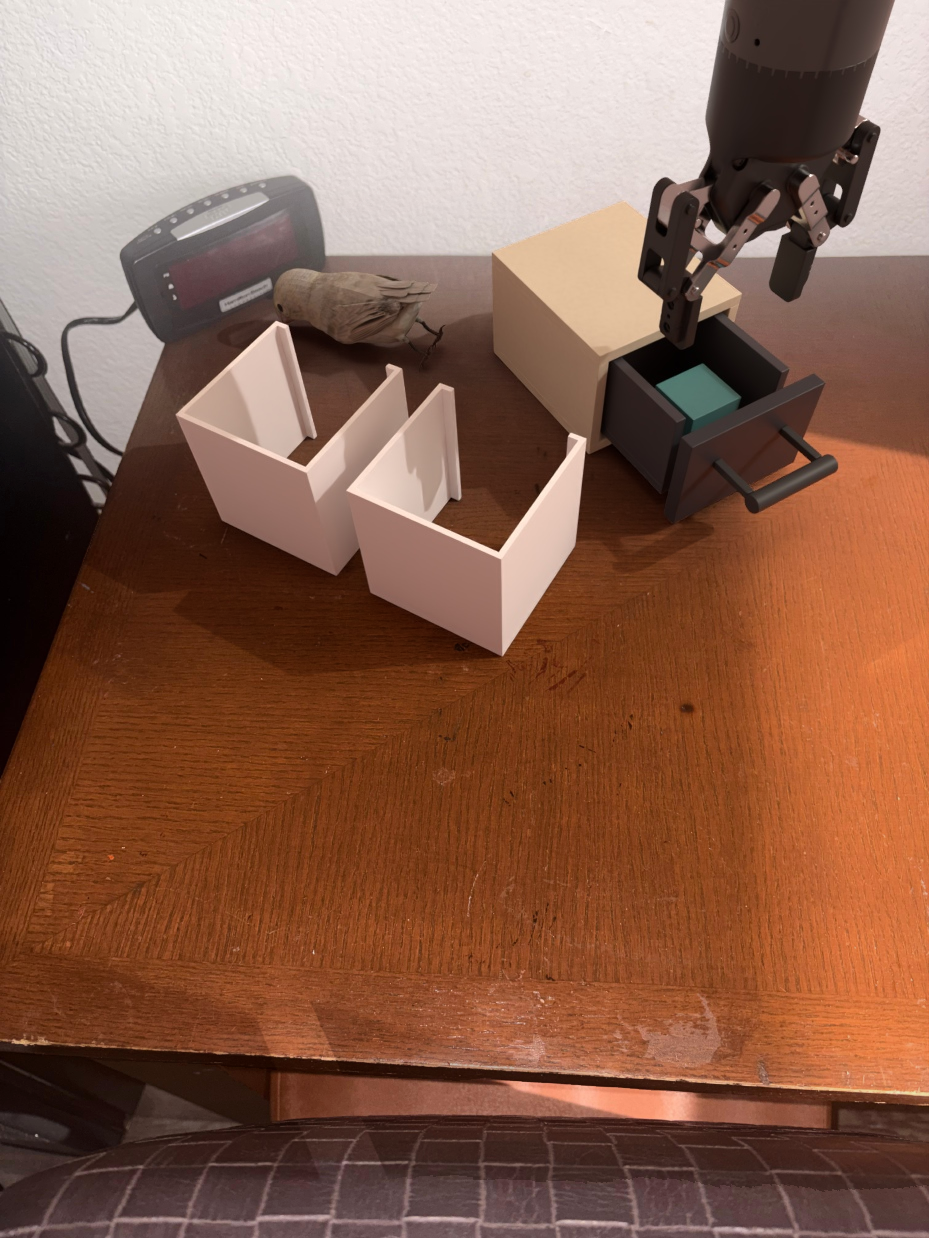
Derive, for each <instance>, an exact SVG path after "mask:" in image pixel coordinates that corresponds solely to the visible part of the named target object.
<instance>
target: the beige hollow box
mask: <svg viewBox="0 0 929 1238" xmlns="http://www.w3.org/2000/svg"><path fill="white" fill-rule="evenodd" d="M647 219H648V217H646V216H645V215H643V214H642V213H641V212H639V211H638V210H637V209H636V208H634V207H633V206H632V205H630V204H629V203H628V202H627V201H625V200H621V201H618V202H616V203H613V204H611V205H608V206H606V207H603V208H601V209H597V210H595V211H594V212H590V213H588V214H585V215H582V216H580V217H578V218H575V219H572V220H570V221H567V222H566V223H563V224H560V225H557V226H554V227H552V228H550V229H547V230H544V231H542V232H539V233H536V234H534V235H532V236H529V237H527V238H524V239H521V240H519V241H516V242H514V243H511V244H509V245H505V246H504V247H501V248H498V249H496V250H493V251H492V252H491V280H492V283H491V285H492V286H491V287H492V332H493V333H492V335H493V337H492V338H493V339H492V340H493V353H494V354H495V355H496V356H497V357H498V358H499V360H501V361H502V362H503V364H504V365H505V366H506V367H507V368H508V369H509V370H510V372H512V373H513V375H514V376H515V377H516V378H517V379H518V380H519V381H520V382H521V383H522V384H523V386H525V388H526V389H527V390H528V391H529V392H530V393H531V394H532V395H533V396H534V397H535V398H536V400H537V401H539V403H540V404H541V405H542V406H543V407H544V408H545V409H546V410H547V411H548V412H549V413H550V414H551V415H552V416H553V418H554V419H555V420H556V421H557V422H558V423H559V424H560V425H561V426H562V427H563V429H565V430H566V432H567V433H568V435H569V434H570V433H573V434H576V435H578V436H581V437H584V438H586V449H585V453H587V454H588V455H591V454H593V453H595V452H597V451H599V450H602V449H604V448H606V447H608V446H610V445H613V444H612V443H611V442H610V441H609V440H608V439H607V438H606V437H605V436H604V435H603V434H602V433H601V432H600V429H601V421H602V412H603V404H604V396H605V388H606V380H607V372H608V363H609V361H611V360H614V359H616V358H618V357H620V356H623V355H625V354H627V353H629V352H632V351H634V350H636V349H638V348H641V347H643V346H645V345H647V344H650V343H652V342H654V341H656V340H659V339H661V338H663V337H665V336H664V335H663V334H662V333H661V332H660V329H659V322H660V319H661V318H660V316H661V313H662V312H661V310H662V304H663V300H662V299H661V298H660V297H659V296H658V295H656V294H655V293H654V292H653V291H652V290H650V289H649V288H648V287H647V286H646V285H644V284H643V283H642V282H641V281H640V280H639V279H638V276H637V275H638V269H639V264H640V258H641V253H642V247H643V242H644V236H645V230H646V225H647ZM700 262H701V260H700V258H698V257H696V256H694V257H693V259H692V260H691V262H690V263H689V265H688V266H687V268H686V270H688V271H689V272H690V273H691V274H692V273H693V272H694V270H695V269H696V267H697V266H698V265H699V263H700ZM661 265H664V261H663V259H662V261H661ZM701 295H702V296H703V299H702V304H701V309H700V314H699V319H698V322H699V321H701V320H704V319H706V318H708V317H710V316H713V315H715V314H717V313H719V312H722V313H723V314H724V315H725V316H727V317H728V318H729V319H730V320H731V321H733V322H734V323H735V320H736V318H737V317H736V316H737V313H738V310H739V305H740V304H741V303H740V302H741V299H742V296H743V293H742V292H741V291H740V290H738V289H737V288H736V287H734V286H733V285H732V284H730V283H729V282H728V281H727V280H725V279H724V278H723V277H721V276H720V275H719V274H718V273H717V272H716V273H715V275H714V276H713V278H712V279H711V280H710V282H709V283H708V285H707V286H706V288H705V289H704V291H703V292H702V293H701Z"/></svg>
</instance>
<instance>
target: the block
mask: <svg viewBox="0 0 929 1238" xmlns="http://www.w3.org/2000/svg"><path fill="white" fill-rule="evenodd" d="M655 389H656V390H657V391H658V392H659V393H660V394H661V395H662V396H663V397H664V398H665V399H666V400H667V401H668V402H669V403H670V404H671V405H672V406H674V407H675V408H676V409H677V410H678V411H679V412H680V413H681V414H682V415H683V416H684V417H685V418H686V419H685V424H684V428H683V432H682V437H683V436H685V435H687V434H689V433H691V432H693V431H695V430H697V429H699V428H701V427H703V426H706V425H708V424H710V423H712V422H714V421H716V420H718V419H720V418H722V417H724V416H726V415H728V414H730V413H732V412H735V411H737V410H738V406H739V403H740V400H741V396H739V395H738V394H737V393H736V392H735V391H734V390H733V389H732V388H730V387H729V386H728V385H727V384H726V383H725V382H724V381H722V380H721V379H720V378H719V377H718V376H717V375H716V374H714V373H713V372H712V371H711V370H710V369H709V368H708V367H706V366H705V365H704V364H703V363H702V364H700V365H698V366H696V367H694V368H692V369H689V370H687V371H685V372H683V373H681V374H679V375H676V376H674V377H672V378H670V379H668V380H666V381H663V382H661V383H659V384H657V385H656V387H655Z"/></svg>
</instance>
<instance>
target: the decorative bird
mask: <svg viewBox="0 0 929 1238" xmlns="http://www.w3.org/2000/svg"><path fill="white" fill-rule="evenodd" d="M438 285H439V283H430V282H429V281H419V282H418V281H417V280H402V279H399V278H396V277H395V276H392V275H388V274H382V273H381V274H380V273H379V274H378V273H376V274H375V273H373V274H372V273H367V272H360V271H341V272H322V271H321V272H320V271H316V270H313V269H308V268H300V267H297V268H292V269H289V270H286V271H284V272H283V273H281V274H280V276H279V277H278V279H277V280H276V282H275V284H274V287H273V293H272V304H273V308H274V311H275V313H276V316H277V318H278V320H280V321H281V323H283V324H286V325H288V324H289V323H293V322H295V321H304V322H309V323H310V324H311V325H312V326H311V327H314V328H316V329H318V330H320V331H322V332H323V333H325V334H326V335H328V336H330V337H331V338H332V339H334V340H335V341H337V342H339V343H341V344H343V345H353V344H356V343H366V344H379V343H387V344H395V343H398V342H402V343H404V344H407V345H409V347H410V348H411V349H412V350H413V351H414V352H416V353H418V354H419V355H421V356H423V358H422V359H421V361H420V362H419V367H418V372H419V373H421V367H422V368H423V369H424V364H425V363H426V362H427V361H428V360H429V358H430V356H431V353H433V352H434V347H435V349H437V343H438V342H440V340H442V337H443V334H444V331H443V329H444V327H446V324H443V325H442V326H441V327H440V328H439V330H438V332H437V331H436V330H434V329H432V328H430V327H429V326H428V325H427V324H426V322H425V320H424V319H423V318H422V317H421V316H420V315H419V313H420V310H421V308H422V305H423V303H425V302H428V300H429V299H430V297H431V294H432V293H434V292H435V290H436V289H437V288H438ZM415 323H417V324H418V323H419V324H420V325H422V327H423V329H425V330H426V331H427V332H429V333H430V334H432V335H433V336H436V338H435V339H434V340H433V342H432V344H431V345H429V346H428V347H427V348H426V352H424V351H422V350H421V349H420V348H418V347H416V346H415V345H414V343H413V342H412V340H410V338H409V337H408V336H407V334H409V332H410V331H411V329H412V328H413V326H414V324H415Z"/></svg>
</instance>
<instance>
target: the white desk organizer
mask: <svg viewBox="0 0 929 1238" xmlns="http://www.w3.org/2000/svg"><path fill="white" fill-rule="evenodd" d="M385 372H386V379H385V380H384V381H383V382H382V383H381V384H380V385H379V386H378V387H377V389H375V391H374V392H373V393H372V394H371V395H370V396H369V397H368V398H367V399H366V400H365V401H364V403H362V405H361V406H360V407H359V408H358V409H357V410H356V411H355V412H354V413H353V415H352V416H350V418H349V419H348V420H347V421H346V422H345V423H344V424H343V425H342V427H340V428H339V430H338V431H337V432H336V433H335V434H334V435H333V436H332V437H331V438H330V440H329V441H327V443H326V444H325V445H324V446H323V447H322V448H321V449H320V450H319V451H318V452H317V454H315V456H314V457H313V458H312V459H311V460H310V461H309V462H308V464H306V465H302V464H300V463H299V462H295V461H293V460H291V459H289V458H288V457H289V456H290V455H291V454H292V453H293V452H294V451H295V450H296V449H297V447H299V446H300V445H301V443H302V442H303V441H305V439H306V438H307V437H309V438H311V439H313V440H315V439H316V438H317V437H318V433H317V430H316V427H315V423H314V419H313V415H312V411H311V407H310V403H309V400H308V396H307V391H306V388H305V383H304V381H303V376H302V373H301V368H300V365H299V361H298V358H297V353H296V349H295V346H294V342H293V338H292V335H291V331H290V327H289V324H284V323H283V322H280V321H278V320H275V321H274V322H273V323H272V324H271V325H270V326H269V327H268V328H267V329H266V330H264V331H263V332H262V333H261V334H260V335H259V336H258V337H257V338H256V339H255V340H254V341H253V342H251V343H250V344H249V346H247V347H246V348H245V349H244V350H243V351H242V352H241V353H240V354H239V355H238V356H237V357H236V358H235V359H233V360H232V361H231V362H230V363H229V364H228V365H227V366H226V367H225V368H224V369H222V370H221V372H220V373H218V374H217V375H216V376H215V377H214V378H213V379H212V380H211V381H210V382H208V383H207V384H206V386H204V387H203V388H202V389H201V390H200V391H199V392H198V393H197V394H196V395H194V397H192V399H190V400H189V401H188V402H187V403H186V404H185V405H184V406H183V407H182V408H181V409H180V410H179V411H178V412H176V413H175V417H176V420H177V422H178V424H179V426H180V429H181V431H182V433H183V436H184V437H185V440H186V442H187V444H188V447H189V449H190V451H191V453H192V456H193V459H194V460H195V462H196V465H197V468H198V469H199V472H200V474H201V476H202V478H203V481H204V483H205V485H206V488H207V490H208V492H209V495H210V497H211V499H212V501H213V504H214V505H215V508H216V510H217V512H218V515H219V518H220V519H221V521H222V522H223V523H226V524H228V525H230V526H232V527H234V528H237V529H239V530H240V531H242V532H245V533H247V534H249V535H250V536H253V537H255V538H257V539H259V540H261V541H263V542H265V543H267V544H270V545H271V546H273V547H276V548H278V549H279V550H281V551H283V552H285V553H288V554H290V555H292V556H294V557H296V558H298V559H300V560H302V561H304V562H307V563H309V564H311V565H312V566H314V567H317V568H319V569H321V570H323V571H325V572H327V573H329V574H331V575H333V576H335V577H337V576H339V574H340V573H341V572H342V570H343V569H344V567H345V566H346V565H347V564H348V563H349V561H350V560H351V559H352V558H353V557H354V556H355V554H357V551H359V550H360V555H361V559H362V563H363V567H364V571H365V572H364V573H365V576H366V580H367V584H368V588H369V592H370V594H372V595H374V596H376V597H378V598H381V599H383V600H385V601H387V602H389V603H391V604H393V605H395V606H397V607H399V608H401V609H402V610H406V611H408V612H409V613H412V614H414V615H416V616H417V617H420V618H422V619H424V620H426V621H427V622H430V623H432V624H434V625H437V626H439V627H440V628H443V629H444V630H446V631H448V632H450V633H453V634H455V635H457V636H459V637H461V638H463V639H464V640H467V641H469V642H472V643H473V644H475V645H478V646H479V647H481V648H483V649H486V650H488V651H490V652H492V653H493V654H496V655H498V656H500V657H504V655H505V653H506V652H507V651H508V649H509V647H510V646H511V644H512V643H513V641H514V640H515V638H516V637H517V635H518V634H519V632H520V631H521V629H522V628H523V626H524V624H526V622H527V620H528V619H529V617H530V615H531V614H532V612H534V609H535V608H536V606H537V605H538V603H539V602H540V601H541V599H542V597H543V596H544V594H545V593H546V592H547V589H548V588H549V586H550V585H551V584H552V582H553V580H554V579H555V577H556V576H557V575H558V573H559V571H560V570H561V568H562V567H563V565H564V563H565V562H566V561H567V559H568V558H569V556H570V554H571V553H572V551H573V550H574V548H575V547H576V541H577V532H578V522H579V513H580V504H581V495H582V484H583V477H584V476H583V475H584V467H585V457H586V451H585V449H586V438H584V437H581V436H578V435H576V434H573V433H570V434H569V433H568V436H567V442H566V455H565V458H564V459H563V461H562V462H561V464H560V465H559V467H558V468H557V469H556V471H555V472H554V474H553V475H552V477H551V478H550V479H549V481H548V482H547V484H546V485H545V486H544V488H543V489H542V490H541V492H540V494H539V495H538V496H537V498H536V499H535V500H534V502H533V503H532V504H531V506H530V507H529V509H528V510H527V512H526V513H525V515H524V516H523V517H522V519H521V520H520V522H519V523H518V524H517V525H516V527H515V529H513V530H512V533H511V534H510V535H509V537H508V539H507V540H505V543H504V544H503V545H502V547H501V548H500V550H499V551H497V550H495V549H492V548H490V547H488V546H486V545H484V544H481V543H479V542H477V541H475V540H472V539H470V538H468V537H466V536H464V535H461V534H458V533H457V532H454V531H452V530H449V529H447V528H445V527H443V526H441V525H438V524H436V523H434V522H433V521H434V520H435V518H436V517H438V514H440V512H441V511H442V510H443V508H444V507H445V506H446V505H447V503H448V502H449V500H450V499H451V498H452V499H453V500H456V501H460V500H461V499H462V486H461V484H462V483H461V469H460V455H459V441H458V440H459V439H458V426H457V412H456V397H455V388H454V387H452V386H450V385H447V384H443V383H442V382H438V384H437V386H436V387H435V388H434V389H433V390H432V391H431V392H430V393H429V394H428V396H427V397H426V398H425V399H424V400H423V401H422V403H421V404H420V405H419V406H418V407H417V408H416V410H414V412H413V413H412V414H411V415H410V416H409V409H408V402H407V395H406V388H405V380H404V371H403V368H401V367H399V366H397V365H393V364H391V363H387V364H386V366H385Z"/></svg>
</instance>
